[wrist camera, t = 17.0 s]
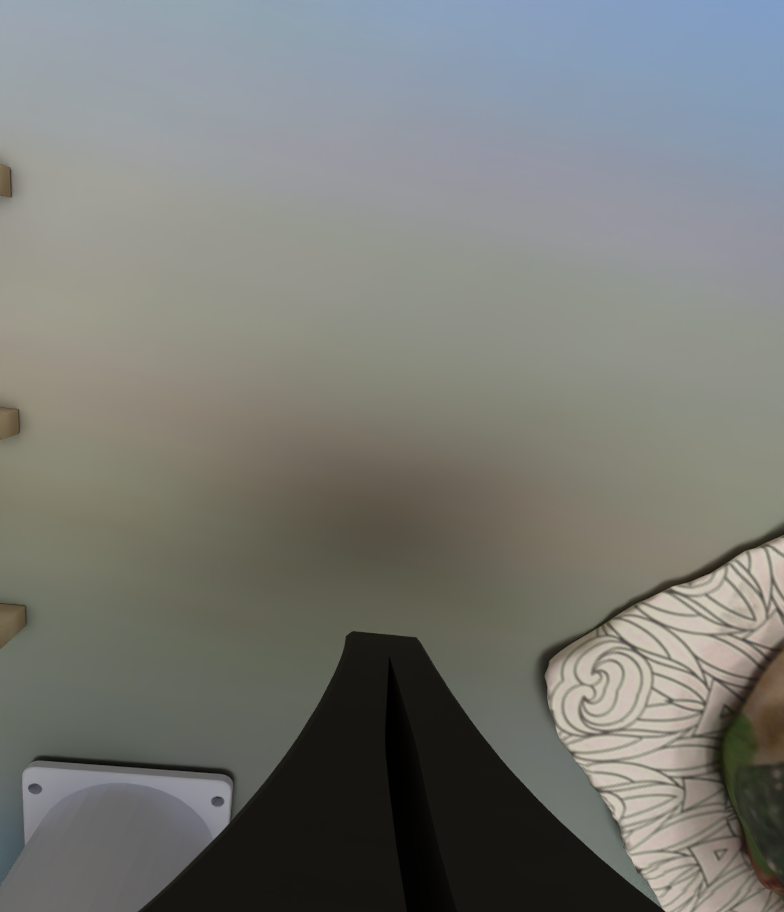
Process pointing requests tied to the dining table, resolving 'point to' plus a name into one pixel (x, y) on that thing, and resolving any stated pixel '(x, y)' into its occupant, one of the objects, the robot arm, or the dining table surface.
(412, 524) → the dining table surface
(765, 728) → the cookie jar
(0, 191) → the lane rack
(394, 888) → the robot arm
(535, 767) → the dining table surface
